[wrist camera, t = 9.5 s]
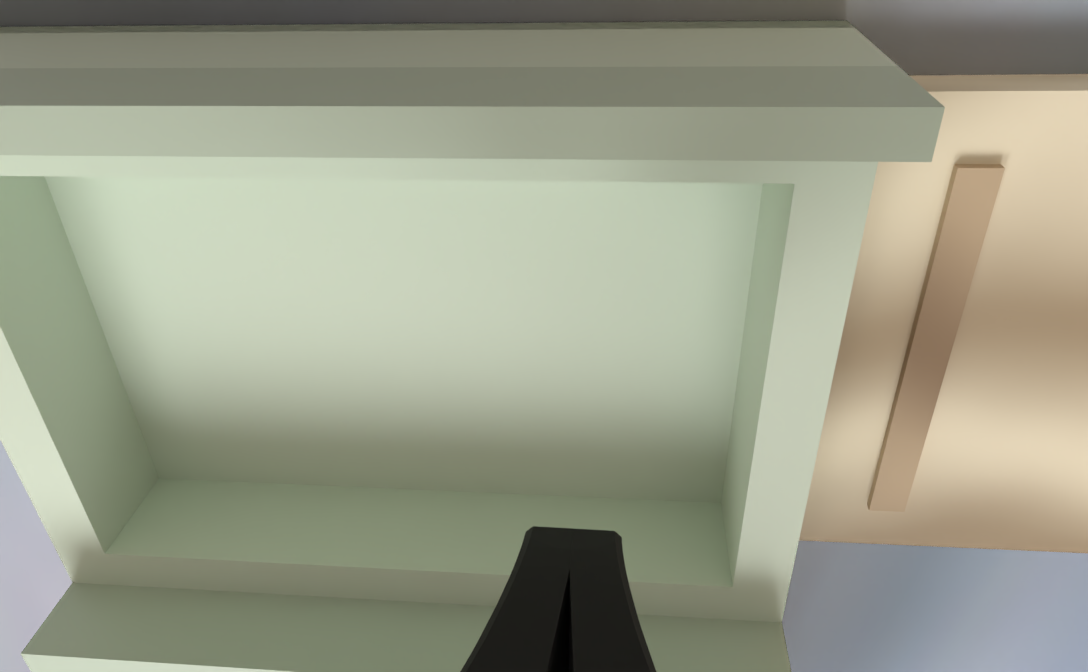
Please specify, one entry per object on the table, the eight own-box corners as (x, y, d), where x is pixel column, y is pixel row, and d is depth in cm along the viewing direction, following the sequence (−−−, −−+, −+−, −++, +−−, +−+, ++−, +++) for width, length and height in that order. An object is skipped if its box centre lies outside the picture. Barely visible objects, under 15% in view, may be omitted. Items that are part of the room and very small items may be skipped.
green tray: (758, 538, 21) (792, 723, 17) (146, 509, 23) (32, 672, 18) (846, 20, 14) (945, 107, 10) (-48, 26, 16) (-309, 105, 11)
